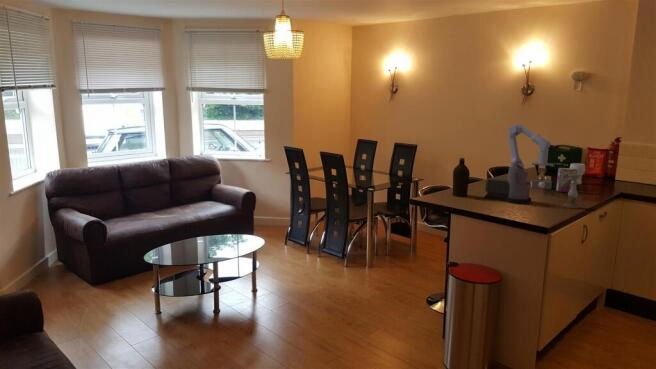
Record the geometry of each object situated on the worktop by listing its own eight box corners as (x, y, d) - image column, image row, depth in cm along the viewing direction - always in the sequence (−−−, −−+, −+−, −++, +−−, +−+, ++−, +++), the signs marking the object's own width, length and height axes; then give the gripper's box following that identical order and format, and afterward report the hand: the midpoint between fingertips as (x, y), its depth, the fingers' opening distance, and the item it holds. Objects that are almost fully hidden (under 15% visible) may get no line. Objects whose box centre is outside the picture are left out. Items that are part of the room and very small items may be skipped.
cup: (586, 184, 382) (588, 165, 379) (571, 184, 382) (574, 164, 379) (579, 182, 392) (581, 163, 390) (565, 182, 393) (567, 162, 390)
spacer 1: (537, 179, 369) (538, 172, 368) (537, 178, 374) (538, 171, 373) (545, 180, 367) (545, 173, 366) (544, 178, 372) (545, 172, 371)
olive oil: (458, 197, 329) (461, 159, 324) (448, 194, 338) (450, 157, 334) (471, 196, 334) (474, 158, 329) (460, 193, 343) (463, 156, 338)
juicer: (535, 201, 322) (539, 163, 318) (529, 205, 309) (533, 166, 305) (488, 195, 338) (490, 159, 334) (480, 199, 325) (483, 161, 321)
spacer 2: (543, 183, 386) (544, 176, 386) (543, 182, 391) (543, 175, 390) (550, 183, 385) (551, 177, 384) (550, 182, 390) (550, 176, 389)
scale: (531, 188, 366) (532, 181, 365) (530, 183, 382) (530, 177, 381) (551, 189, 362) (552, 182, 361) (548, 185, 378) (549, 178, 377)
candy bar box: (558, 192, 353) (560, 168, 349) (555, 190, 357) (558, 167, 354) (574, 192, 351) (577, 169, 348) (572, 191, 356) (574, 168, 353)
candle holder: (574, 205, 311) (578, 173, 308) (582, 208, 303) (586, 175, 299) (560, 205, 311) (564, 172, 307) (568, 208, 303) (571, 175, 299)
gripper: (554, 157, 368) (552, 175, 370) (532, 155, 373) (531, 174, 375) (554, 158, 361) (552, 176, 364) (532, 156, 367) (531, 175, 369)
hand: (541, 175), depth 369 cm, fingers closed on spacer 1, 5 cm apart
